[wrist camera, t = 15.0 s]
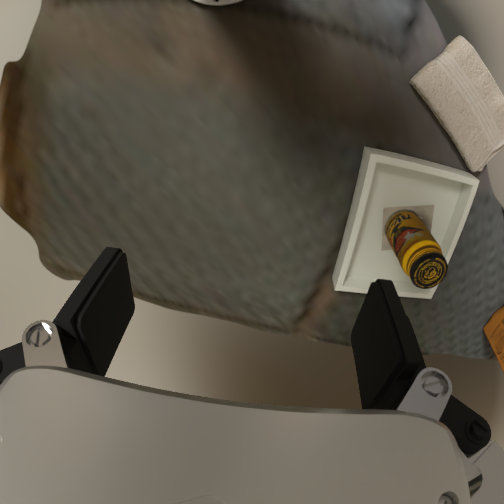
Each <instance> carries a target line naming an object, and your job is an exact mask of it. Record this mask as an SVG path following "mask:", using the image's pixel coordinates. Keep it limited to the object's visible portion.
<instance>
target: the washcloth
mask: <svg viewBox="0 0 504 504" xmlns="http://www.w3.org/2000/svg"><path fill="white" fill-rule="evenodd" d="M409 83H411V84H412V86H413V87H414V88H415V89H416V90H417V92H418V93H419V96H421V97H422V98H423V100H424V101H425V102H426V103H427V105H428V106H429V107H430V109H431V110H432V111H433V113H434V114H435V117H436V118H437V119H438V120H439V123H440V124H441V125H442V126H443V128H444V129H445V131H446V132H447V133H448V134H449V136H450V138H451V140H452V141H453V142H454V143H455V145H456V147H457V149H458V150H459V153H460V154H461V156H462V158H463V159H464V162H465V163H466V166H467V167H468V168H469V170H471V171H472V172H476V171H482V170H483V168H484V166H485V165H486V164H487V163H488V162H489V161H490V160H491V159H492V158H493V157H495V156H496V155H497V154H498V153H499V152H500V151H501V150H502V149H504V96H503V94H502V92H501V90H500V89H499V87H498V85H497V84H496V82H495V80H494V78H493V76H492V75H491V73H490V71H489V70H488V69H487V68H486V66H485V65H484V63H483V61H482V60H481V58H480V57H479V55H478V53H477V52H476V51H475V49H474V48H473V46H472V45H471V44H470V43H469V42H468V41H467V40H466V39H465V38H464V37H462V36H458V37H457V38H455V39H454V40H453V41H452V42H451V43H450V44H448V46H447V47H446V48H445V49H444V52H443V53H442V54H440V55H439V56H438V57H436V59H435V60H432V61H430V62H429V63H427V64H426V65H425V66H424V67H423V68H422V69H421V70H419V71H418V73H417V74H416V75H414V77H413V78H412V79H411V80H410V82H409Z"/></svg>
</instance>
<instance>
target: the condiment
mask: <svg viewBox="0 0 504 504" xmlns="http://www.w3.org/2000/svg"><path fill="white" fill-rule="evenodd" d="M433 211H434V205H424V206H403V207H388V208H384V210H383V229H382V249H381V251H383V250H391V249H393V251H394V253H395V255H396V257H397V258H398V261H399V264H400V266H401V267H402V269H403V271H404V272H405V273H406V274H407V275H408V276H409V277H410V279H411V281H412V283H413V284H414V285H415V286H416V287H418V288H421V289H429V288H433V287H435V286H437V285H438V284H439V283H440V282H441V281H442V280H443V278H444V277H445V276H446V273H447V269H448V265H447V262H446V259H445V257H444V256H443V254H442V250H441V247H440V246H439V244H438V243H437V241H436V240H435V238H434V237H433V236H432V234H431V228H432V220H433ZM419 216H420V217H419Z"/></svg>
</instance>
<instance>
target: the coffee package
mask: <svg viewBox="0 0 504 504" xmlns="http://www.w3.org/2000/svg"><path fill="white" fill-rule="evenodd" d="M483 330H484V332H485V334H486V336H487V338H488V340H489V343H490V345H491V347H492V349H493V351H494V353H495V355H496V357H497V359H498V361H499V363H500V365H501V367H502V370H503V372H504V306H503V307H502V308H500V309H498V310H497V311H496V312H495V313H494V314H493V315H492V316H491V318H490V320H489V321H488V323H487V324H486V325H485V326H484V328H483Z"/></svg>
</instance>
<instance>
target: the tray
mask: <svg viewBox="0 0 504 504" xmlns="http://www.w3.org/2000/svg"><path fill="white" fill-rule="evenodd" d="M478 185H479V180H478V179H477V178H475V177H474V176H473V175H472V174H470V173H469V172H466V171H463V170H459V169H456V168H452V167H449V166H445V165H442V164H438V163H435V162H431V161H427V160H423V159H419V158H415V157H411V156H407V155H403V154H398V153H394V152H390V151H385V150H380V149H376V148H371V147H366V146H364V150H363V155H362V159H361V164H360V169H359V173H358V178H357V182H356V186H355V191H354V195H353V199H352V203H351V208H350V212H349V216H348V220H347V224H346V227H345V231H344V235H343V239H342V243H341V246H340V250H339V254H338V257H337V261H336V265H335V268H334V272H333V275H332V279H333V284H334V290H336V291H346V292H357V293H367V292H368V290H369V287H370V285H371V283H372V282H375V281H376V280H377V279H386V280H392V282H393V284H394V286H395V289H396V291H397V294H398V296H401V297H413V298H425V299H431V298H432V296H433V294H434V292H435V290H436V288H437V286H438V285H437V286H435V287H433V288H429V289H421V288H418V287H416V286H415V285H414V284H413V283H412V281H411V279H410V277H409V276H408V275H407V274H406V273H405V272H404V271H403V269H402V267H401V266H400V264H399V261H398V258H397V257H396V255H395V253H394V251H393V249H391V250H383V251H381V249H382V229H383V210H384V208H388V207H403V206H424V205H434V211H433V220H432V228H431V234H432V236H433V237H434V238H435V240H436V241H437V243H438V244H439V246H440V247H441V250H442V254H443V256H444V257H445V259H446V262H447V265H448V263H449V260H450V258H451V256H452V253H453V251H454V249H455V246H456V244H457V242H458V239H459V237H460V234H461V232H462V229H463V227H464V224H465V222H466V219H467V216H468V214H469V211H470V208H471V205H472V202H473V200H474V197H475V194H476V191H477V188H478ZM419 217H420V216H419Z"/></svg>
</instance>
